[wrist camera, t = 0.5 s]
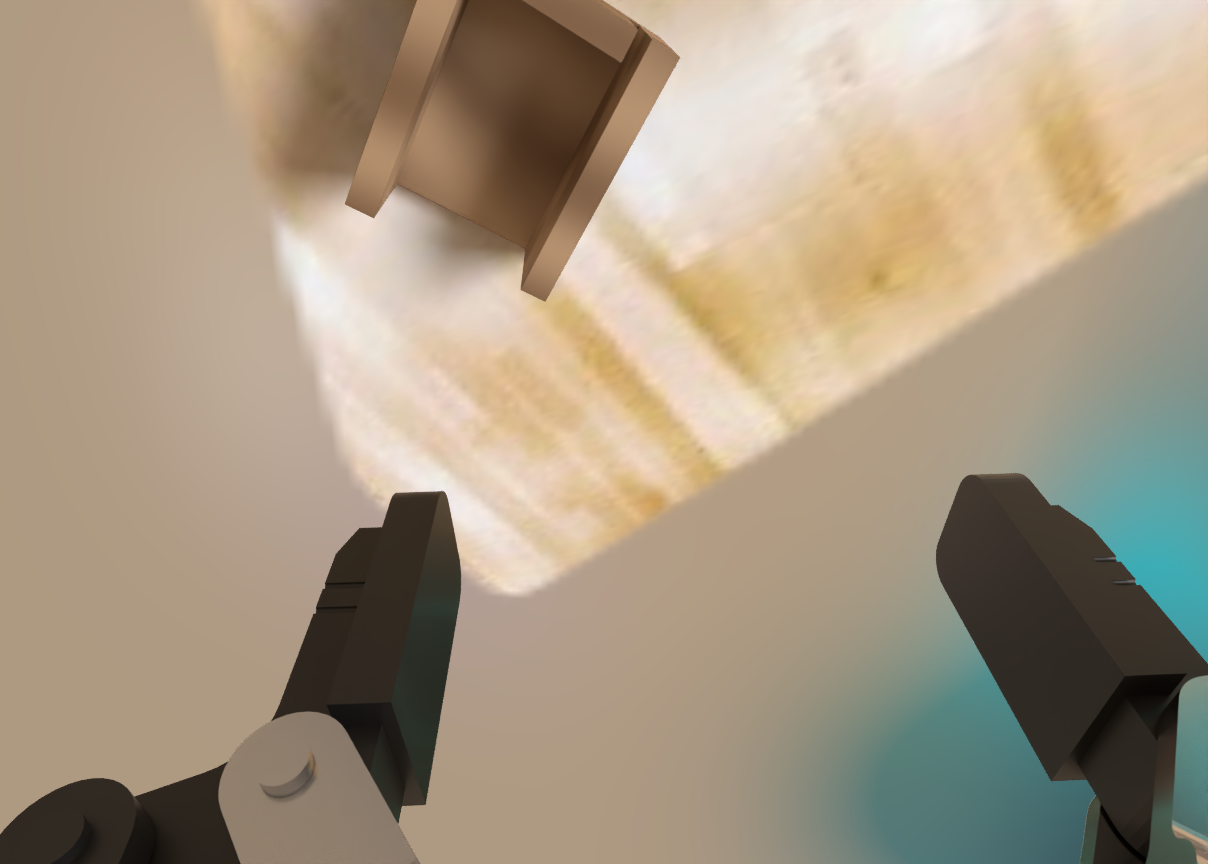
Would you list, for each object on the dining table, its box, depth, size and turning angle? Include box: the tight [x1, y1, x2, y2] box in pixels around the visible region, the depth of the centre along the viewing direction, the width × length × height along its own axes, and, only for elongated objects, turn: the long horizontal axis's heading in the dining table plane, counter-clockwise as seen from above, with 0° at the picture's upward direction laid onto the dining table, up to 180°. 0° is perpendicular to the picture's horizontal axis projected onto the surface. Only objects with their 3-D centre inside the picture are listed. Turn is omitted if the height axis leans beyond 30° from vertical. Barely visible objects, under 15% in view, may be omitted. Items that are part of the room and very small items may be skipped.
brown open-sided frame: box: [345, 0, 680, 301], centre depth 29 cm, size 11×9×6 cm
